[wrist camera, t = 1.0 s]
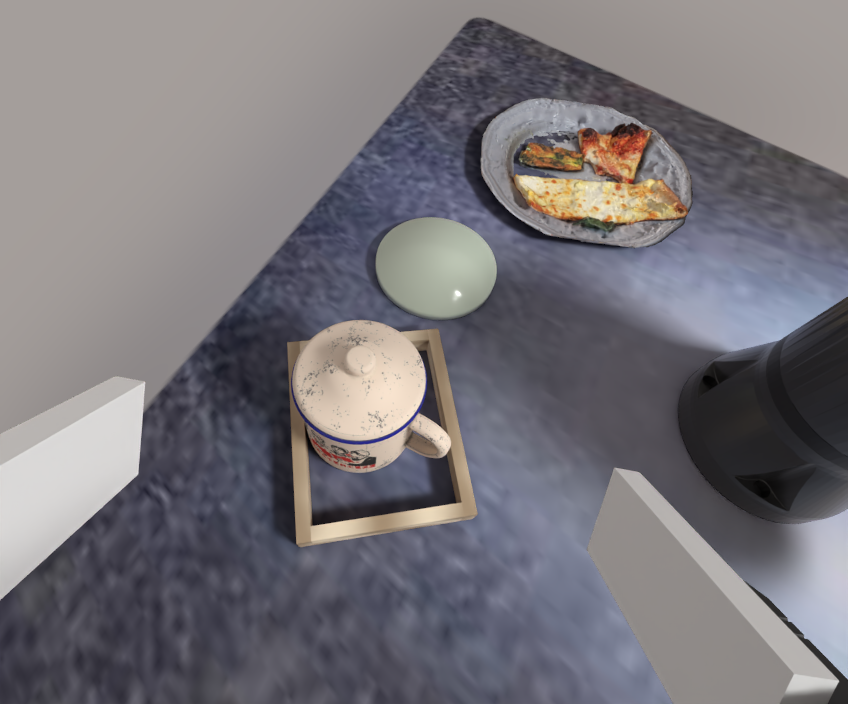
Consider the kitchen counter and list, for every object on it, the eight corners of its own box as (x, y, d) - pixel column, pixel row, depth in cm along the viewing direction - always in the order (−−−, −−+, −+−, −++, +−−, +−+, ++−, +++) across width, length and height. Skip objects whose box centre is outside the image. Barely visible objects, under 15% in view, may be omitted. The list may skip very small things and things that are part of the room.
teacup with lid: (281, 438, 39) (251, 376, 28) (346, 354, 43) (341, 274, 33) (409, 519, 37) (427, 484, 26) (464, 424, 41) (498, 361, 31)
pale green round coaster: (479, 221, 52) (481, 214, 51) (507, 314, 47) (509, 309, 46) (368, 227, 50) (369, 220, 49) (383, 325, 45) (384, 319, 44)
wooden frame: (435, 339, 44) (438, 328, 43) (472, 518, 37) (477, 514, 35) (290, 353, 42) (287, 342, 40) (299, 547, 35) (296, 543, 33)
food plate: (668, 129, 64) (682, 104, 60) (700, 270, 53) (721, 248, 49) (480, 104, 63) (485, 78, 60) (473, 242, 52) (479, 219, 49)
